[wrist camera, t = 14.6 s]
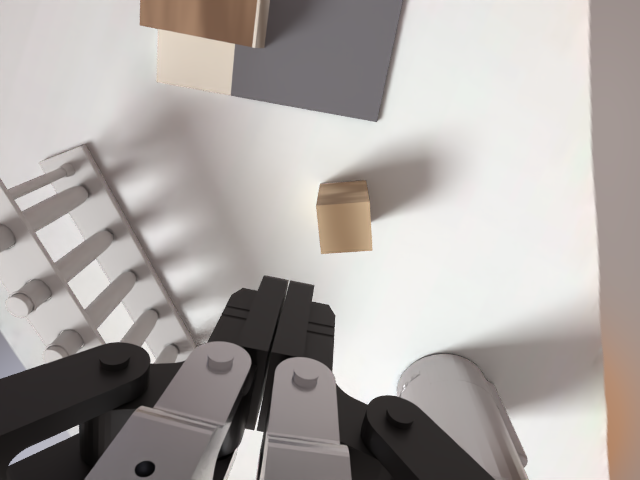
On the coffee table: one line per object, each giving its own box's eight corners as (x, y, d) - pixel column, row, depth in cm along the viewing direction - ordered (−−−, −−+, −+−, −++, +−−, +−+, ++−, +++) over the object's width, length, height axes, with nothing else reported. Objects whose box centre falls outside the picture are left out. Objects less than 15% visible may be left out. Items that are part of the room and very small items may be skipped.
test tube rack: (43, 160, 40) (-90, 209, 27) (86, 143, 39) (-31, 186, 27) (171, 377, 48) (114, 486, 36) (208, 367, 48) (162, 475, 36)
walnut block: (262, -18, 29) (141, -42, 29) (255, 47, 31) (139, 25, 31) (271, -10, 33) (163, -32, 33) (264, 48, 35) (161, 27, 34)
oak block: (365, 180, 39) (369, 201, 33) (368, 223, 40) (372, 250, 35) (320, 183, 39) (316, 205, 34) (324, 226, 41) (321, 253, 35)
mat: (412, -48, 32) (413, -49, 32) (376, 121, 37) (376, 121, 36) (163, -96, 32) (160, -98, 31) (158, 81, 36) (156, 82, 36)
